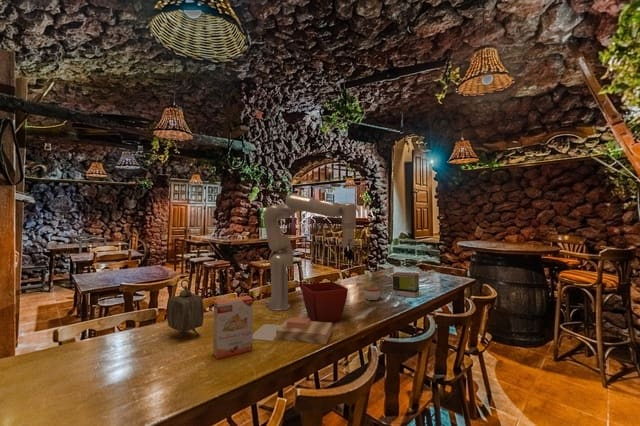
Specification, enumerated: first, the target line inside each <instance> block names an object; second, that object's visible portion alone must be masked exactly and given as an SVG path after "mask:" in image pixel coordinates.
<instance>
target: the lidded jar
mask: <svg viewBox="0 0 640 426" xmlns="http://www.w3.org/2000/svg"><path fill="white" fill-rule="evenodd" d="M363 296H364V298H365V299H366V300H367V299H368V300H376V301H378V299H380V296H381V287H380V286H378V285H373V284H371V285H365V286H363ZM368 300H367V301H368Z"/></svg>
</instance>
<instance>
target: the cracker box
mask: <svg viewBox="0 0 640 426" xmlns="http://www.w3.org/2000/svg"><path fill="white" fill-rule="evenodd" d="M253 320H254V298H252V297H251V296H249V295H243V296H236V297H229V298H221V299H216V300H215V299H214V300H213V346H212V347H213V351H212V352H213V356H215V358H216V360H219V359H223V358H226V357H227V358H228V357H231V356H236V355H239V354H244V353H248V352H253V344H254V343H253V342H254V341H253V334H254V332H253V329H254V321H253Z"/></svg>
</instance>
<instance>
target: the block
mask: <svg viewBox="0 0 640 426" xmlns="http://www.w3.org/2000/svg"><path fill="white" fill-rule="evenodd" d="M310 321H311V318H306V317H305V318H304V317H303V318H302V317H289V319H288V321H287V328H298V329H307V328H308V326H309V325H310Z"/></svg>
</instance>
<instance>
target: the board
mask: <svg viewBox="0 0 640 426" xmlns="http://www.w3.org/2000/svg"><path fill="white" fill-rule="evenodd" d="M288 320H289V319H287V318H286V319H285V320H284V321H283V323H281V324H280V325H281V326H280V327H279V328H278V329H277V330H276V338H275V340H277V341H287V342H288V341H289V342H299V343H300V342H301V343H309V344H311V343H312V344H319V345H320V344H321V345H327V343H328V341H329V339H330V338H331V334H332V333H333V322H315V321H313V320H310V325H309V326H308V328H307V329H298V328H287V321H288Z"/></svg>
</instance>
